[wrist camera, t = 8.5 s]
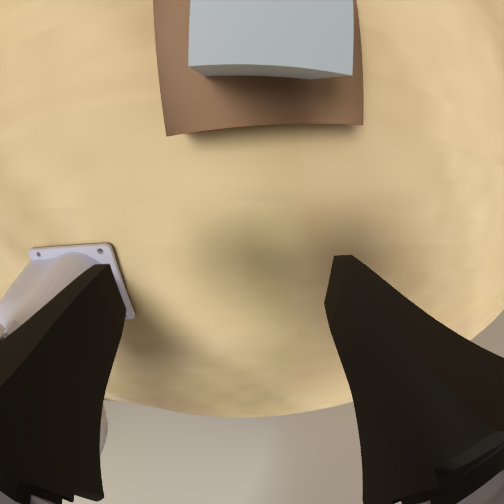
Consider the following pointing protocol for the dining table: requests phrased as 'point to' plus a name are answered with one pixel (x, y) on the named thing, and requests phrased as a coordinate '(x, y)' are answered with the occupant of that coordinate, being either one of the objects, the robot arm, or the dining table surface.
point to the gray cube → (271, 38)
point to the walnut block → (245, 86)
